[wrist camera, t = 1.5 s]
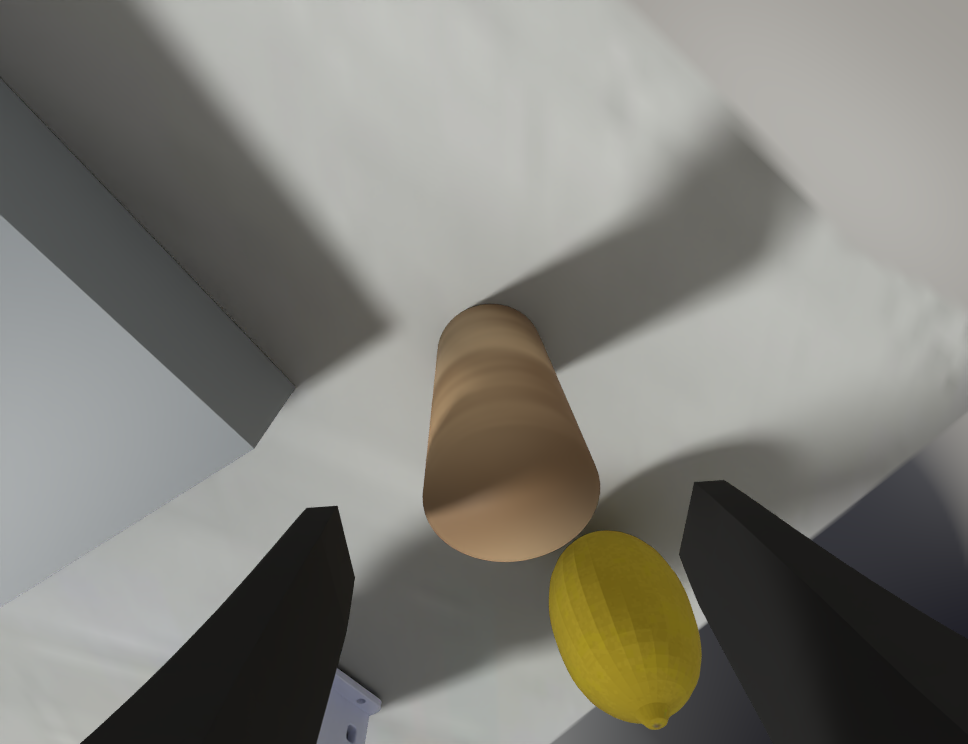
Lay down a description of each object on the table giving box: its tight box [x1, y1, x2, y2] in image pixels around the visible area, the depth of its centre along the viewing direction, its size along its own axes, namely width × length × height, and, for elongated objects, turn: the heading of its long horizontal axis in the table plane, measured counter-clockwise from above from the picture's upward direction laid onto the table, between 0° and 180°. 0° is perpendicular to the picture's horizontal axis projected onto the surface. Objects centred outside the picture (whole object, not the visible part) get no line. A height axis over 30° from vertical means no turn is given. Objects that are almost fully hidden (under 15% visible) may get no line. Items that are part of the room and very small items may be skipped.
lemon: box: [549, 530, 701, 730], centre depth 18 cm, size 6×6×8 cm
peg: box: [423, 304, 600, 562], centre depth 14 cm, size 4×4×8 cm
